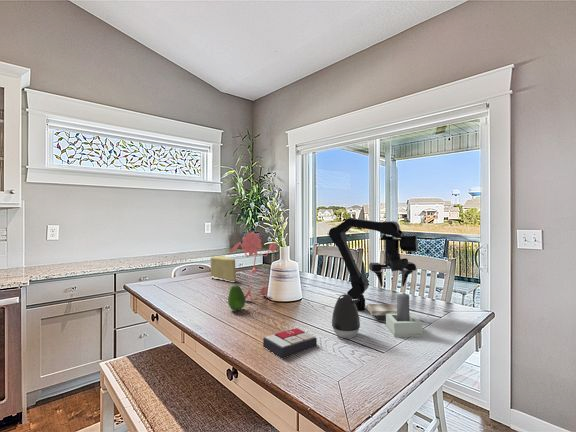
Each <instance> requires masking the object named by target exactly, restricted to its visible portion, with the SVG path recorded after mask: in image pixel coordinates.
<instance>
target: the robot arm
mask: <svg viewBox="0 0 576 432" xmlns="http://www.w3.org/2000/svg"><path fill="white" fill-rule="evenodd" d="M351 228H357V229H365V230H370V231H371V230H372V231H376V232H378V233H382V237H380V238H379V240H380V241H384V253H383V254H384V264H381V263H379V262H370V263H369V265H368V269H369V270H370V271H371V272H373V273H374V274H375V275H376V277H377V280H378V282H379V285H380V287H382V288H383V287H384V286H383V283H384V282H383V272H382V270H391V271H392V272H396V271H397V272H398V271H400V272H401V286H402V287H404V286H405V284H406V281H407V279H408V277H409V275H410V274H412V273H413V272H414V271H417V265H416V264H415V263H413V262H411V261H409V259H408V258H401V254H400V250H402V252H410V253H411V252H412V253H413V252H414V253H415V252H416V253H418V251H419V250H418V249H419V242H418V237H417V236H418V235H415V234H414V235H405V234H404V233H403V231H402V230H401V227H400V224H399V223H398V222H397V221H393V220H392V221H391V220H390V221H375V220H367V219H361V218H360V219H359V218H354V217H348V218H346V219H345V220H344V221H342V222H341V223H340V224H338V225H336V226H334V227H331V228H330V229H329V231H328V236H329V238H330V240H331V241H332V243H333V244H334V245H336V247H337V249H338V251H339V253H340V256H341V257H342V260H343V262H344V265H345V267H346V269H347V272H348V273H349V274H348V275H349V277H350V278H349V279H350V284H351V285H350V286H351V288H349V289H348V290H347V291H346V293H347V295H350V296H351V297H352V299H357V298H359V300H360V301H358V302H356V303H355V305H356V307H357V310H358V311H365V310H366V309H365V308H366V299H365V296H364V293H365V292H366V291H367V290H368V288H369V286H370V285H369V282H370V281H369V279H368V278H367V274H366V273H363V274H362V273H361V271H360V270H359V267H358V265H357V263H356V261H355V259H354V257H353V254H352V251H351V250H350V247H349V245H348V240H347V237H348V236H347V233H348V231H349V230H350V229H351Z"/></svg>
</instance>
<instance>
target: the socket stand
mask: <svg viewBox="0 0 576 432" xmlns="http://www.w3.org/2000/svg"><path fill="white" fill-rule="evenodd" d="M409 317H410V321H397V313H395V314H386V320H385V326H386V328H387V330H388V331H389V332H390V334H392V336H393V337H394V338H398V337H399V338H400V337H402V338H404V337H407V338H408V337H409V338H410V337H423V322H422V321H421V319H419V318H418V317H416V315H414V314H413V313H412V312H409Z"/></svg>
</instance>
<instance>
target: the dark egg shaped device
mask: <svg viewBox="0 0 576 432" xmlns="http://www.w3.org/2000/svg"><path fill="white" fill-rule="evenodd" d="M358 301H360V300H359V298H357V299H352V297H351V296H350V295H348V294H345V293H344V294H341V295H339V297H338V298H337V300H336V302H335V305H334V307H333V310H332V311H333V312H332V318H331V327H332V329H333V332H334V333H335V335H336V336H338V337H340V338H343V339H351V338H354V337H355V336H357V334H358V333H359V329H360V328H361V321H360V320H361V319H360V313H359V310H357V307H356V305H355V303H356V302H358Z"/></svg>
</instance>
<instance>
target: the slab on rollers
mask: <svg viewBox="0 0 576 432" xmlns="http://www.w3.org/2000/svg"><path fill="white" fill-rule="evenodd" d="M366 309H367V310H368V312H369V313H370V315H371V316H376V319H377V320H380V321H381V320H385V321H386V314H395V313H397V303H367V304H366Z"/></svg>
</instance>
